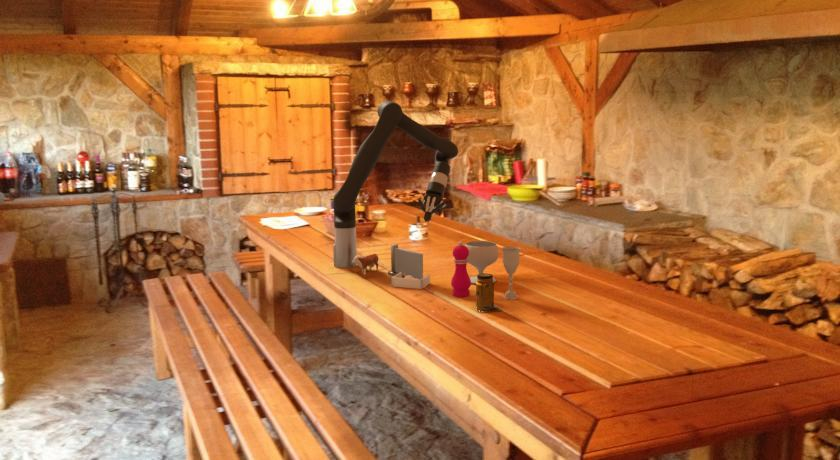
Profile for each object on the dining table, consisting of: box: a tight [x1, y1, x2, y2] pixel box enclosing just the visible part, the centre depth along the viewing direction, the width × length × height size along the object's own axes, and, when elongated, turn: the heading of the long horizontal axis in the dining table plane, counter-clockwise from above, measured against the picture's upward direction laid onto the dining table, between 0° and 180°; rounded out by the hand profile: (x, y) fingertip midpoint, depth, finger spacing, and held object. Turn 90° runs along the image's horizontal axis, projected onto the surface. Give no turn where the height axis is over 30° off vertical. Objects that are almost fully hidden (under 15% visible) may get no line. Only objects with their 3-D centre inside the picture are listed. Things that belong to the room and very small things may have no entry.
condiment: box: [475, 272, 503, 313], centre depth 241 cm, size 7×8×12 cm
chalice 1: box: [464, 240, 500, 285], centre depth 278 cm, size 14×14×15 cm
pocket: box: [390, 272, 431, 290], centre depth 275 cm, size 13×9×4 cm
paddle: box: [390, 243, 424, 279], centre depth 286 cm, size 20×3×11 cm, turn 37°
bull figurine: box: [352, 253, 379, 276], centre depth 296 cm, size 4×13×8 cm, turn 137°
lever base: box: [387, 270, 398, 277], centre depth 294 cm, size 6×6×1 cm
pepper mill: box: [450, 240, 472, 298], centre depth 258 cm, size 7×7×20 cm
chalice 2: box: [501, 246, 521, 301], centre depth 254 cm, size 7×7×18 cm
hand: (426, 221), depth 301 cm, fingers closed
